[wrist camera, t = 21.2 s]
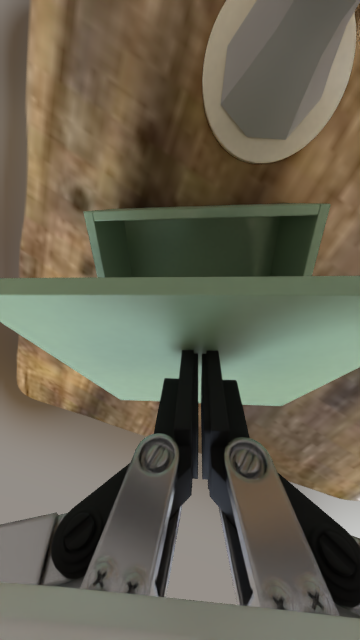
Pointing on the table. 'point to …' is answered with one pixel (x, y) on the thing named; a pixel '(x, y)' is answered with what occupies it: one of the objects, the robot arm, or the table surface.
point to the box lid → (193, 329)
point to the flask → (282, 63)
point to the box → (207, 240)
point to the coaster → (225, 126)
